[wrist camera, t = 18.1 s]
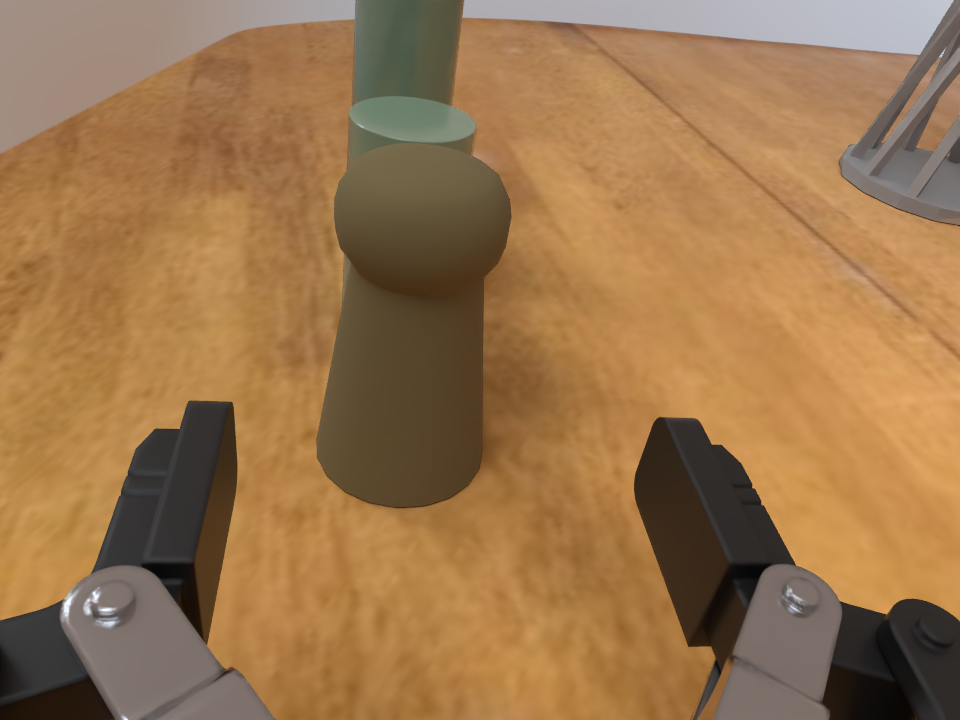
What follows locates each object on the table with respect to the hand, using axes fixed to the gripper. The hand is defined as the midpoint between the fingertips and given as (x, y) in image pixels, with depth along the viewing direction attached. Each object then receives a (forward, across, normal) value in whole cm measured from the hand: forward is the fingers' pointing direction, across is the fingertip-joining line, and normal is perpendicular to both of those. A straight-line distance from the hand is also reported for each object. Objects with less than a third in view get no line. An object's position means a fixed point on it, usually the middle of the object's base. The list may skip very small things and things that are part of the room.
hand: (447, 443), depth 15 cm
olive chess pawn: (+10, 0, +10) cm, 14 cm away
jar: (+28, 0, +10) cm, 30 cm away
